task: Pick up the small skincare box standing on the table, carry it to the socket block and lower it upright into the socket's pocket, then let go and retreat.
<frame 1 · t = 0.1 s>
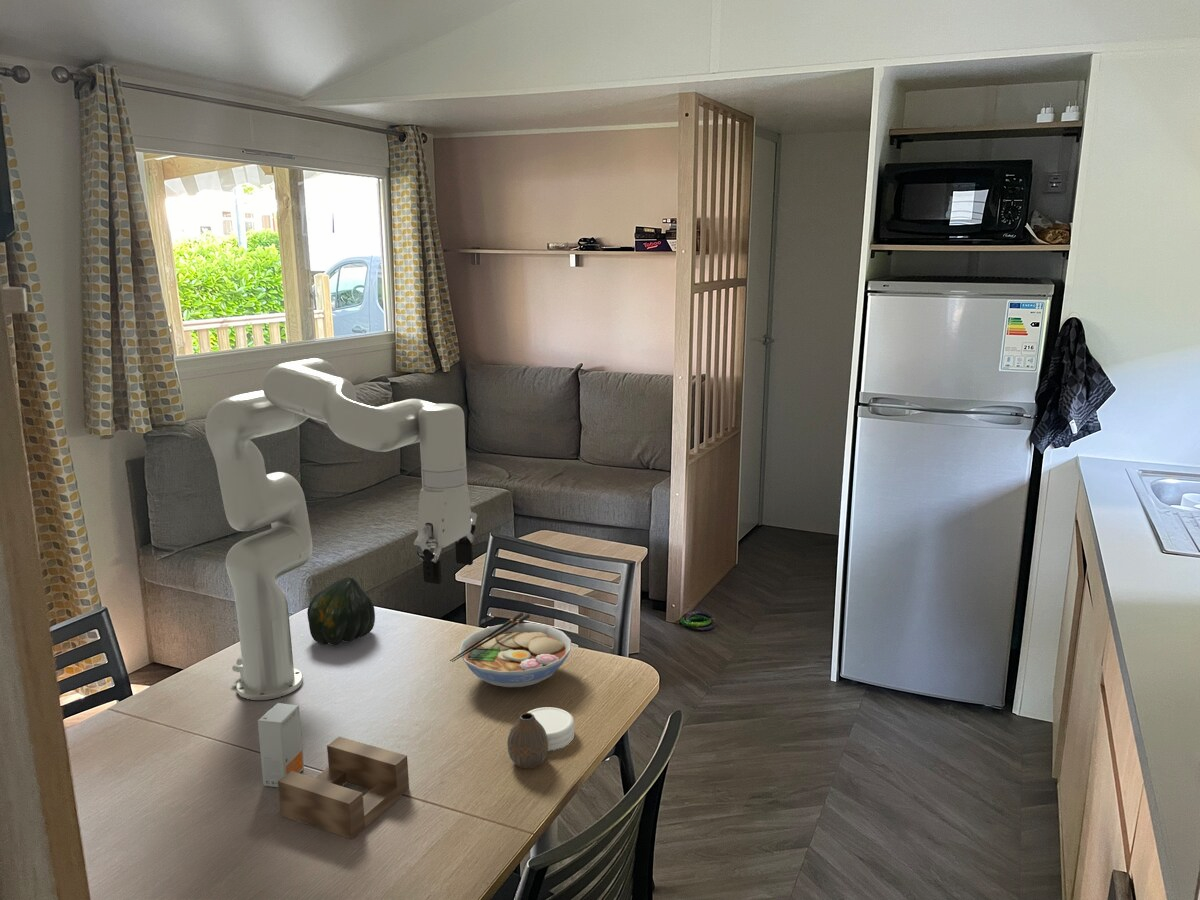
hand: (449, 572, 154), 31 cm above the table, tool pointing down, fingers open, 9 cm apart
squash: (343, 638, 202), on the table
skincare box: (284, 778, 149), on the table
vase: (528, 763, 153), on the table
ramen bowl: (516, 679, 182), on the table
socket: (346, 801, 142), on the table
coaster: (546, 738, 161), on the table
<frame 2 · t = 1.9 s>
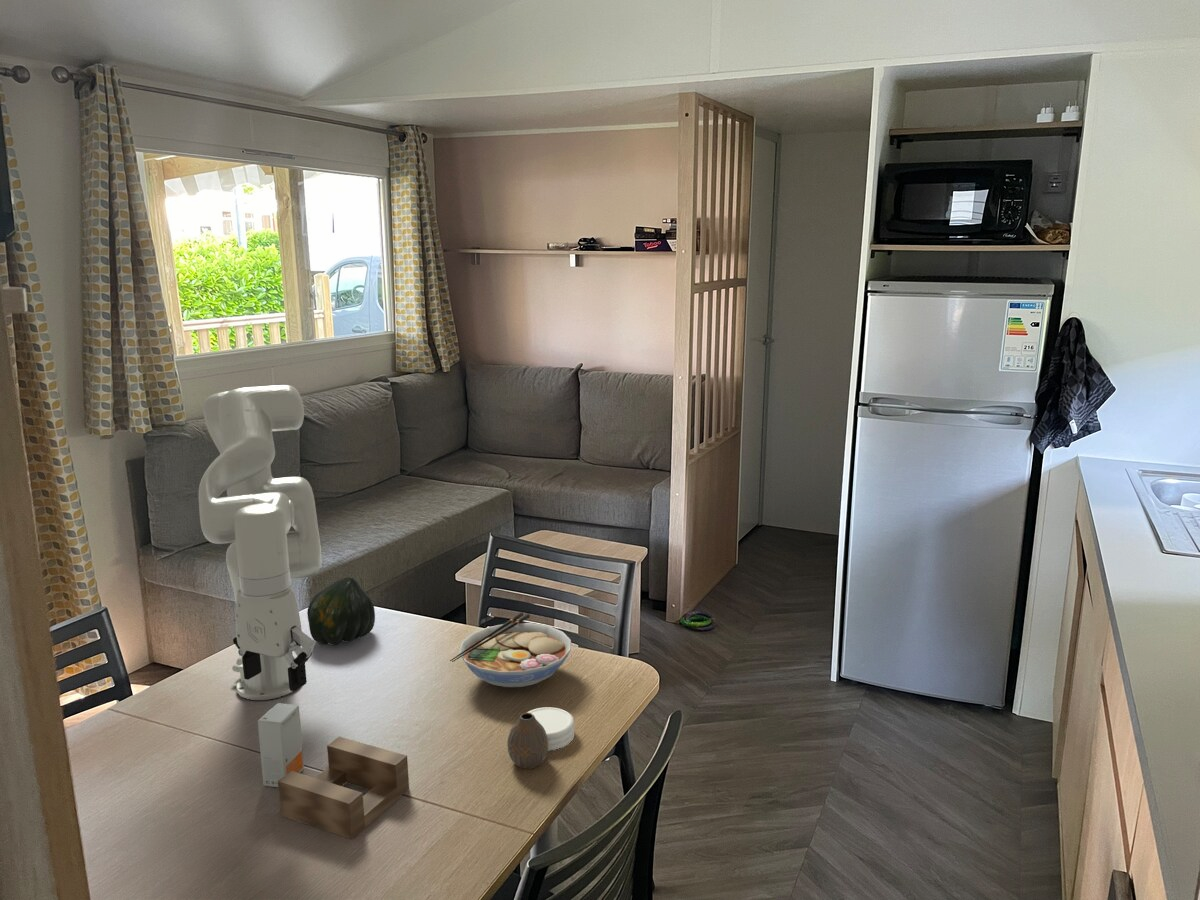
hand: (275, 681, 145), 18 cm above the table, tool pointing down, fingers open, 9 cm apart
nothing on the table moved.
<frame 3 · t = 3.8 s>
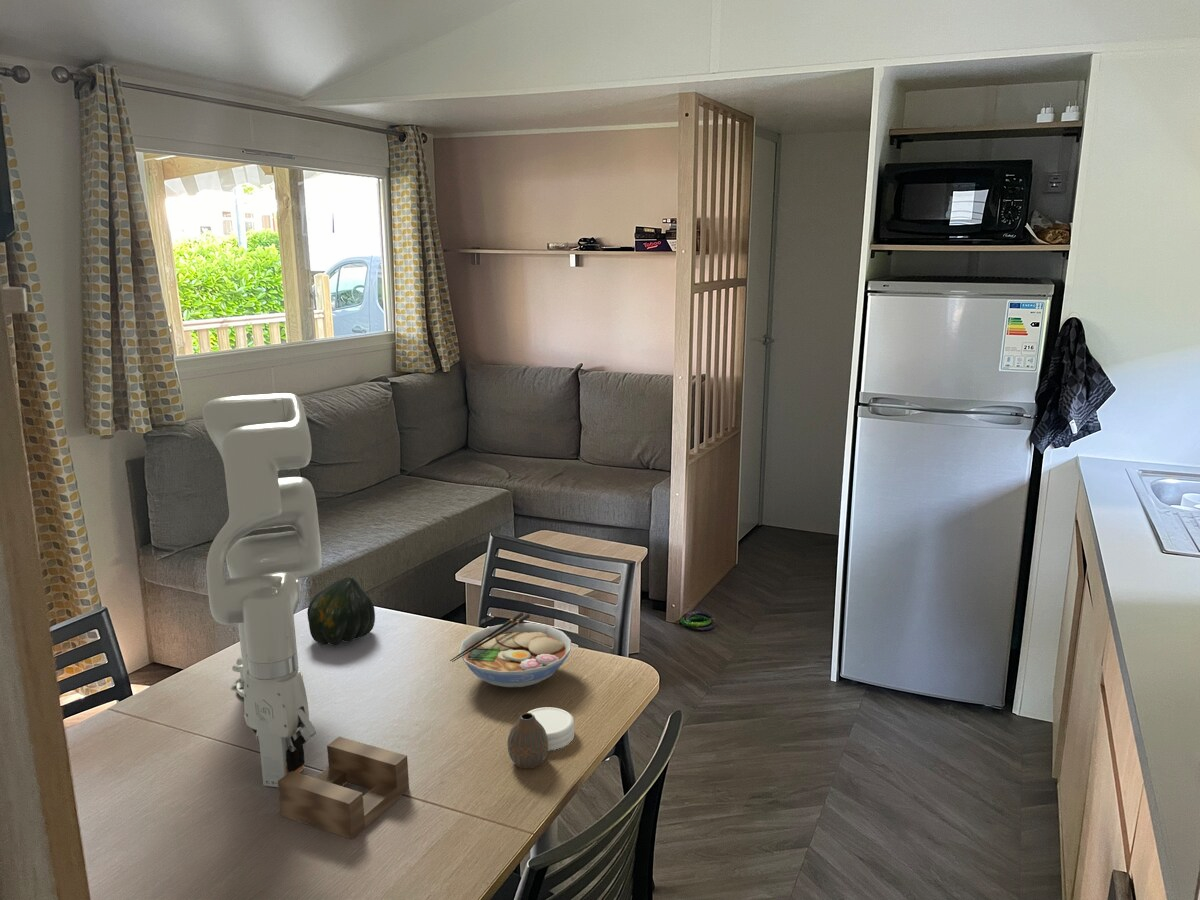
hand: (283, 763, 148), 3 cm above the table, tool pointing down, fingers closed on skincare box, 5 cm apart
skincare box: (284, 778, 149), on the table, touching gripper
everything else where it was.
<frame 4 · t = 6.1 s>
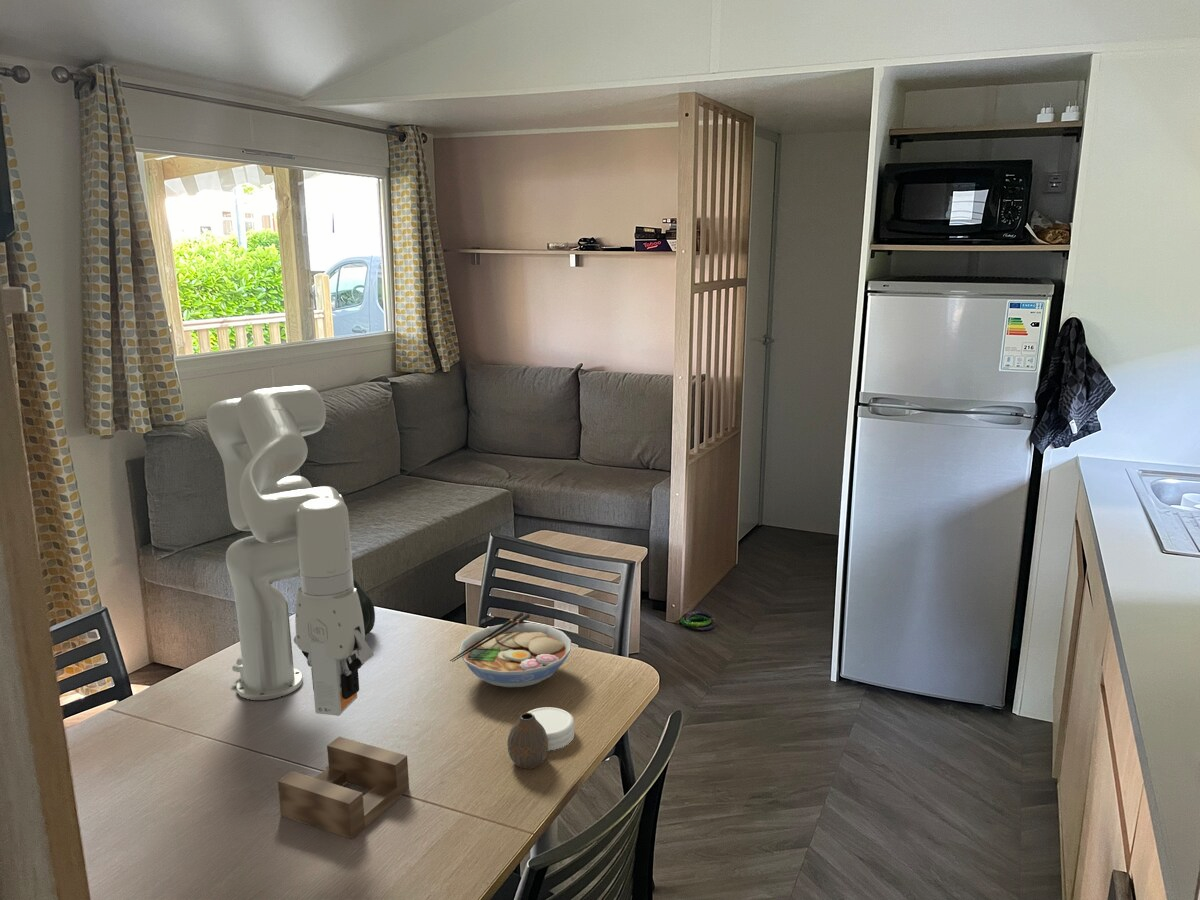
hand: (336, 690, 138), 19 cm above the table, tool pointing down, fingers closed on skincare box, 5 cm apart
skincare box: (337, 706, 139), point 17 cm above the table, touching gripper
everything else where it was.
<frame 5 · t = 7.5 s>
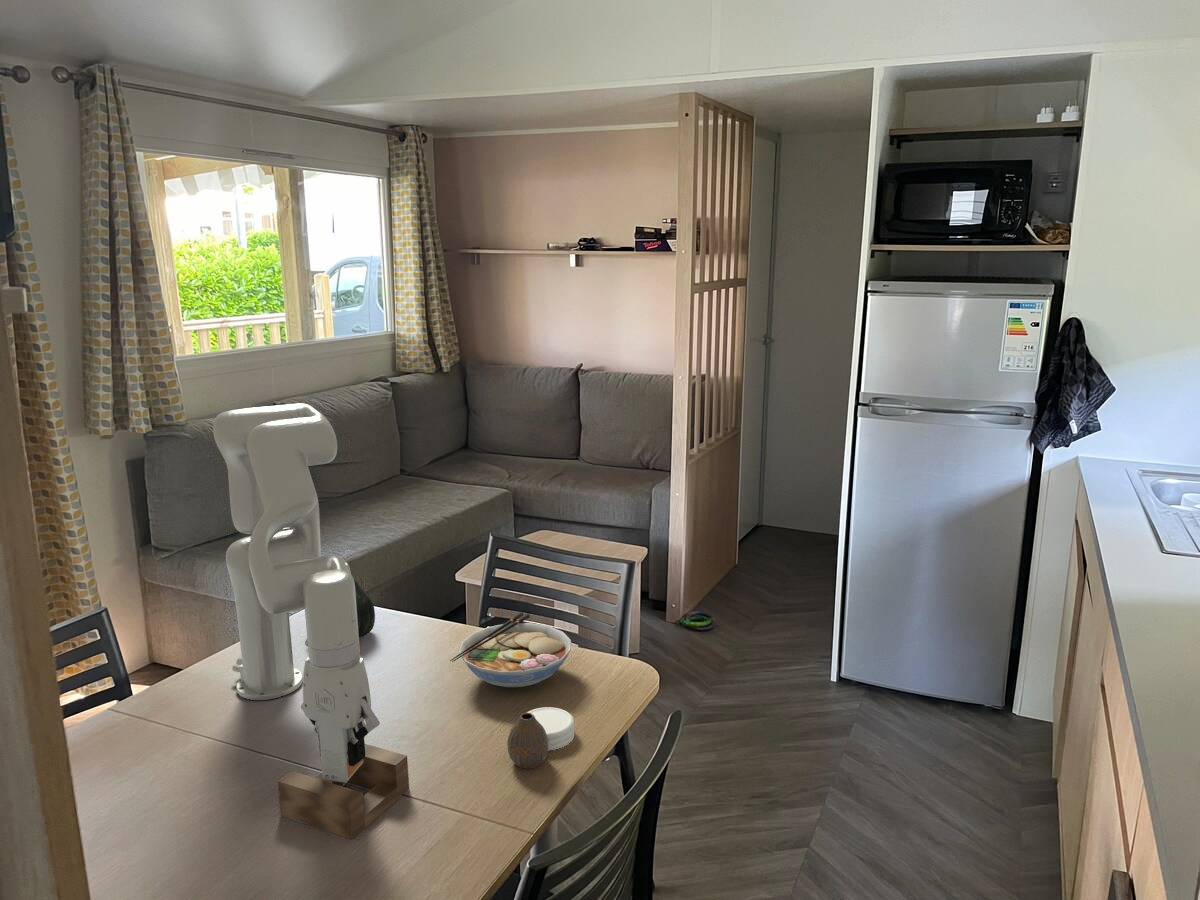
hand: (342, 756, 141), 8 cm above the table, tool pointing down, fingers closed on skincare box, 5 cm apart
skincare box: (344, 772, 141), point 5 cm above the table, touching gripper
everything else where it was.
when the fingers open (4 cm above the table, at t = 8.7 s): skincare box drops 1 cm, resting in socket.
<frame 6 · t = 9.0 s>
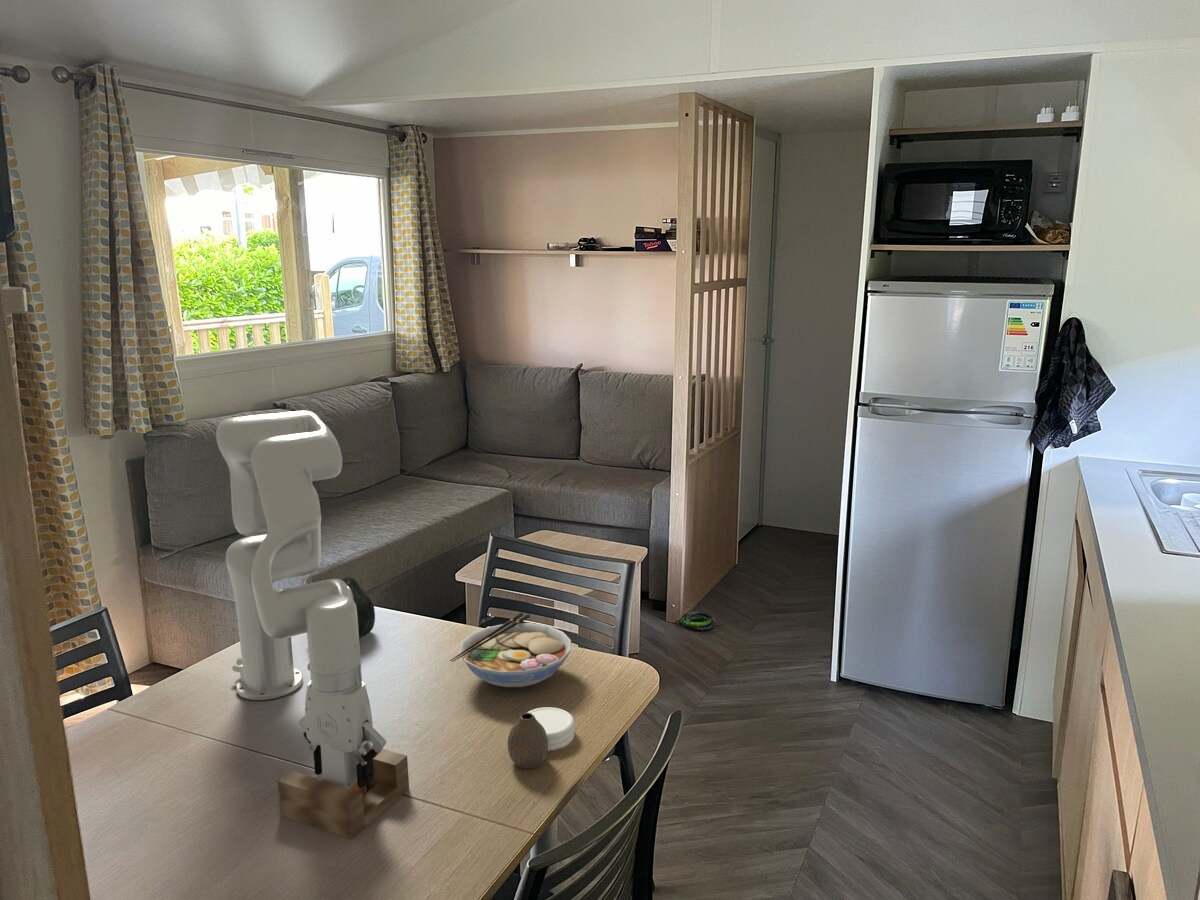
hand: (344, 776, 141), 5 cm above the table, tool pointing down, fingers open, 8 cm apart
skincare box: (346, 802, 143), resting in socket
everything else where it was.
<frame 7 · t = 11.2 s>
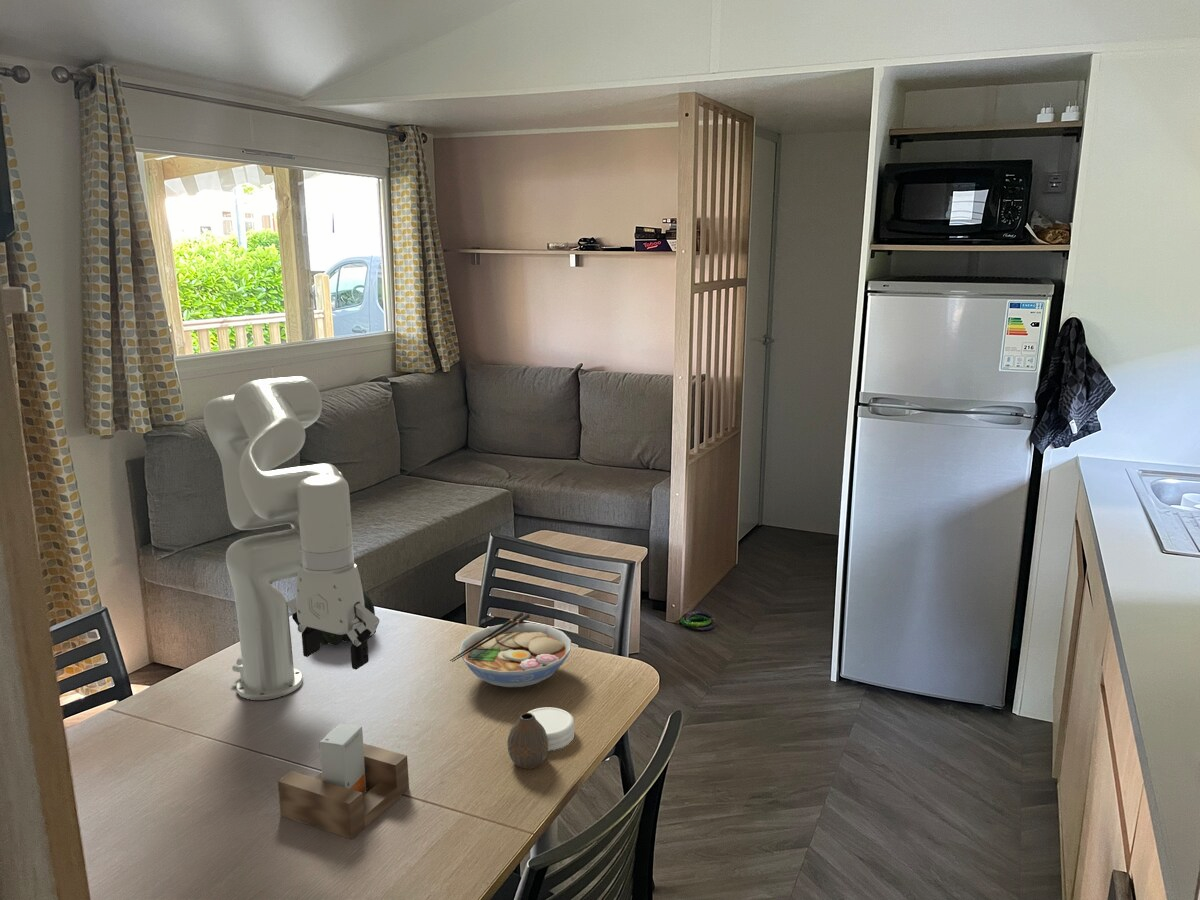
hand: (335, 659, 140), 23 cm above the table, tool pointing down, fingers open, 9 cm apart
nothing on the table moved.
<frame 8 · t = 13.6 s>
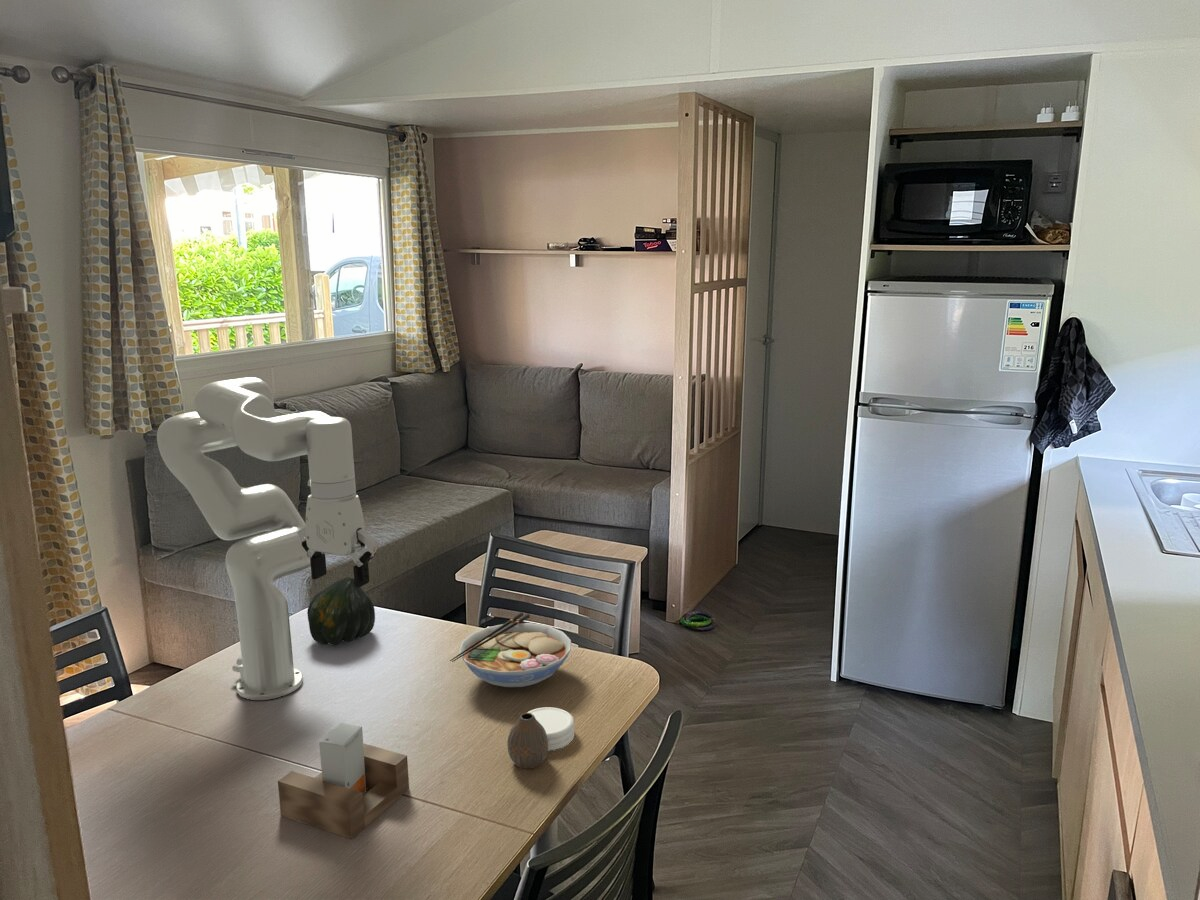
hand: (340, 580, 159), 28 cm above the table, tool pointing down, fingers open, 9 cm apart
nothing on the table moved.
at the end: skincare box 0.2 cm from the socket (horizontally); skincare box tilted 0°; the gripper is holding nothing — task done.
